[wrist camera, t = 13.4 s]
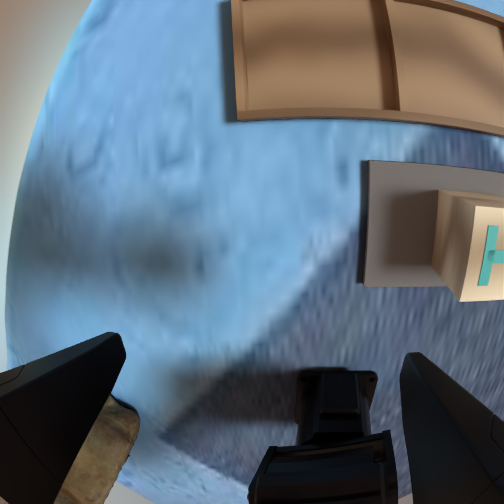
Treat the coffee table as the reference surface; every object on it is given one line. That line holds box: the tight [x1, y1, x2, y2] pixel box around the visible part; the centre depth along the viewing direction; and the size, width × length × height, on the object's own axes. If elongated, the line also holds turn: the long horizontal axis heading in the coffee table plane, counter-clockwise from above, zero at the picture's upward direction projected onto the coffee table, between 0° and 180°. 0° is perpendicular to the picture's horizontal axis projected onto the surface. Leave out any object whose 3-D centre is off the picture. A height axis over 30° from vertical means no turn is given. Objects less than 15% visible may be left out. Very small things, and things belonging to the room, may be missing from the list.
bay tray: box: [231, 0, 504, 137], centre depth 13 cm, size 9×29×2 cm, turn 93°
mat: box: [363, 160, 504, 287], centre depth 17 cm, size 8×14×1 cm, turn 93°
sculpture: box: [54, 395, 140, 504], centre depth 18 cm, size 12×9×30 cm
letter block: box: [431, 190, 504, 302], centre depth 14 cm, size 5×5×5 cm
